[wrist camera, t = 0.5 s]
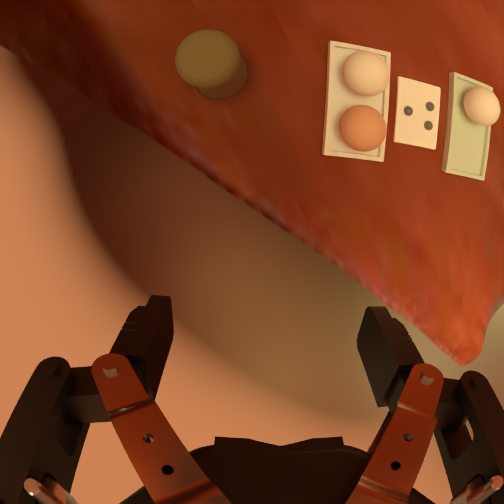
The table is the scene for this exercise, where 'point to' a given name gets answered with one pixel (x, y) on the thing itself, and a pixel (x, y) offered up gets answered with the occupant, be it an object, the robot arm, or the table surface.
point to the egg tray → (348, 102)
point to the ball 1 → (365, 73)
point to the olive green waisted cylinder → (211, 64)
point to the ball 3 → (482, 106)
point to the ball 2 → (362, 128)
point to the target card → (416, 113)
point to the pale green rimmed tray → (464, 133)
